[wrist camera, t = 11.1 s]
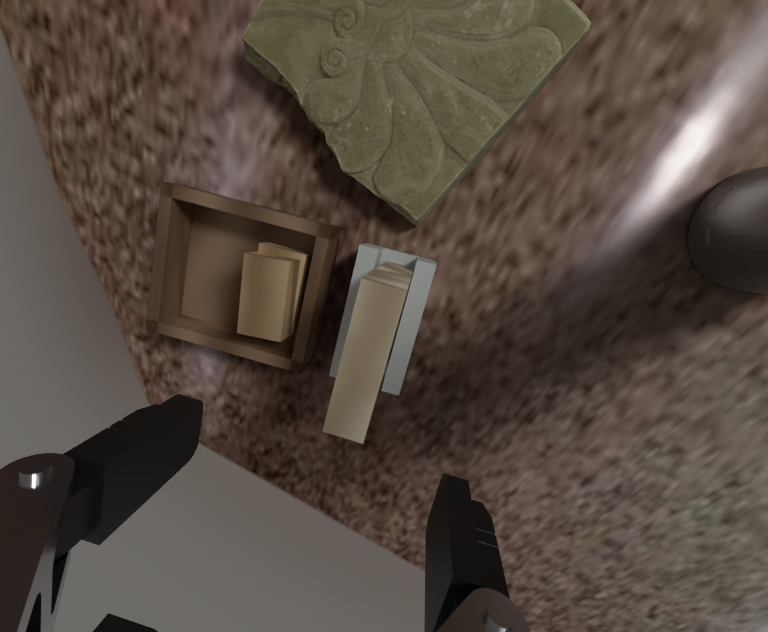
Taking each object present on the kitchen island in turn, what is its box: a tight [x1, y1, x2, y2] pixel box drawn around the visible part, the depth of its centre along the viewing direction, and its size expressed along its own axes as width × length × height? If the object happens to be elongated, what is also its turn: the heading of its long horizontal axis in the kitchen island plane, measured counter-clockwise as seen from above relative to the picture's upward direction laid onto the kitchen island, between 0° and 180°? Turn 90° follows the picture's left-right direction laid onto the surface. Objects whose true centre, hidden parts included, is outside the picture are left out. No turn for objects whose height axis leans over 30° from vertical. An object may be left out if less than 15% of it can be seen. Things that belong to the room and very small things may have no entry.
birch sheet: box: [322, 261, 414, 444], centre depth 26 cm, size 2×9×13 cm, turn 165°
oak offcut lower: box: [258, 242, 313, 336], centre depth 31 cm, size 4×7×2 cm, turn 166°
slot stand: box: [329, 243, 436, 396], centre depth 31 cm, size 6×11×4 cm, turn 166°
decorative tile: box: [242, 0, 591, 226], centre depth 27 cm, size 19×20×4 cm
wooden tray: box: [146, 181, 343, 373], centre depth 32 cm, size 14×12×4 cm
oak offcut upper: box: [237, 252, 300, 342], centre depth 29 cm, size 4×6×2 cm, turn 170°
